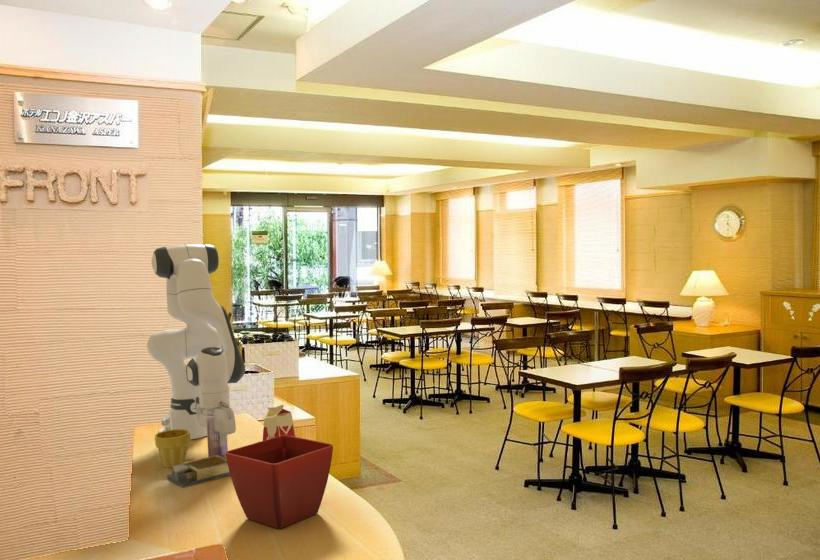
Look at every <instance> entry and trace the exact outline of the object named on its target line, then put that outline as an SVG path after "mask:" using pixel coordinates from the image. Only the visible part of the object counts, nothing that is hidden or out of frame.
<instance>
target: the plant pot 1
mask: <svg viewBox="0 0 820 560" xmlns="http://www.w3.org/2000/svg"><path fill="white" fill-rule="evenodd" d="M154 441H155V444H154V445H155V447H156V448H157V449H158V453H159V456H160V460H161V464H162V466H163V467H164V468H173V466H176V465H181V463H184V462H186V458H187V454H188V453H187V452H188V448H189V444H190V443H191V439H190V431H188V430H185V429H174V430H167V431H163V432H160V433H158V432H157V433H156V434H155V436H154Z"/></svg>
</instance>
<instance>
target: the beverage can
mask: <svg viewBox="0 0 820 560" xmlns="http://www.w3.org/2000/svg"><path fill="white" fill-rule="evenodd" d="M214 419H215V416H211V415H209V414H207V418H206V423H207V437H206V439H207V457H209V456H213V455H219V456H221V457H223V455H224V454H225V452H227V451H229V448H228V447H229V446H228V437H227V438H226V445H225V446H220V445H219V440H220V435H219V432H217V431H215V429H214Z"/></svg>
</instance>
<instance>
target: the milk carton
mask: <svg viewBox="0 0 820 560" xmlns="http://www.w3.org/2000/svg"><path fill="white" fill-rule="evenodd" d="M284 406H285V404H280V405H278V406H273V407H266V408H267V410H268V411H267V412H266V415H265V417H263V420H264V421H263V430H262V441H264V440H268V439H271V438H275V437H279V436H282V435H288V436H293V437H297V435H296V430H295V425H294V420H293V419H294V418H293V416H292V415H293V414H292V412H291V411H290V410H288V409H284Z"/></svg>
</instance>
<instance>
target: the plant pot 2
mask: <svg viewBox="0 0 820 560" xmlns="http://www.w3.org/2000/svg"><path fill="white" fill-rule="evenodd" d="M333 451H334V444H332V443H327V442H323V441H317V440H314V439H308V438H303V437H297V436H296V437H293V436H288V435H282V436H279V437H275V438H271V439H268V440H264V441H263V440H261V441H258V442H254V443H251V444H248V445H244V446H240V447H237V448H234V449H230V450H228V451H227V452H225V454H226V460H227V464H228V468H229V472H230V475H229V476H230V479H231V482H232V485H233V488H234V491H235V494H236V496H237V499H238V502H239V505H240V506H241V508H242V511H243V513H244V515H245V517H246V519H248V520H250V521H251V520H252V522H253V521H255V522H257V523H259V524H262V525H266V526H268V527H272V528H274V529H279V530H280V529H283V528H285V527H288V526H290V525H292V524H295V523H297V522H299V521H303V520H304V519H307V518H309V517H312V516H314V515H316V514H318V513H319V510H320V507H321V505H322V500H323V498H324V494H325V490H326V488H327V483H328V481H329V476H330V472H331V471H330V470H331V464H332V459H333Z"/></svg>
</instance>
